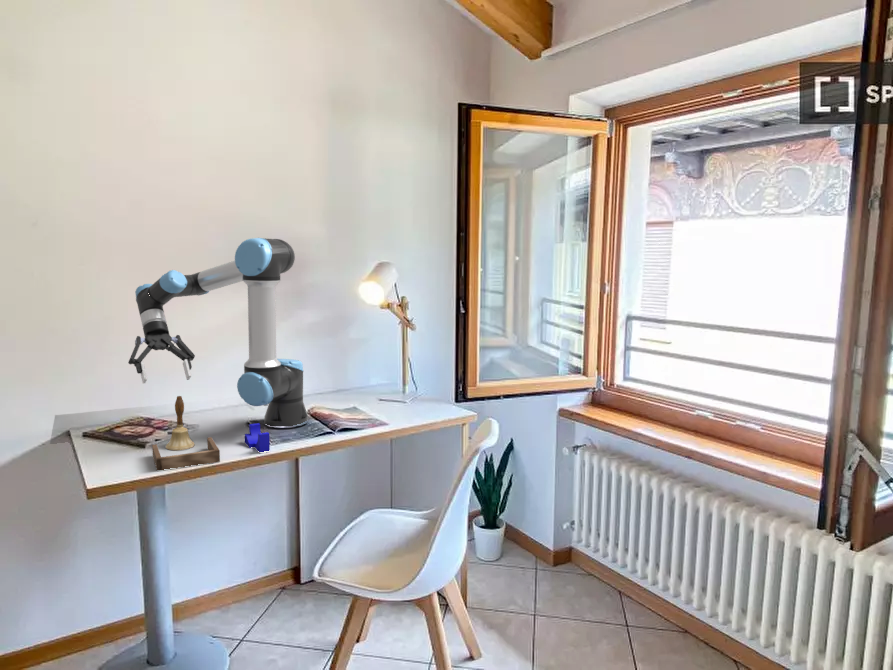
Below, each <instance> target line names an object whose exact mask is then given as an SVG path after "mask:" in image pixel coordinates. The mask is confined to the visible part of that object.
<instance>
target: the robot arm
mask: <svg viewBox="0 0 893 670" xmlns="http://www.w3.org/2000/svg"><path fill="white" fill-rule="evenodd" d="M295 254H296V253H295V251H294V249H293V247H292V246H291V244H289V243H288V242H287V241H285V240H283V239H281V238H265V237H263V238H262V237H254V238H253V237H252V238H248V239H246V240H244V241H242V242H241V243H240V244H239V245H238V246H237V248H236V250H235V254H234V260H233V261H229V262H226V263H224V264H220V265H218V266H217V265H216V266H214V267H210V268H208V269H205V270H202V271H199V272H195V273H193V274H185V275H184V274H183V273H182V272H181V271H177V270H175V269H172V270H169V271H167V272H165V273H164V274H162V275H161V276H160V277H159V278H158V279H157V280H156V281H155V282H154V283H144V284H142V285H139V286H138V287H136V289H135V301H136V304H137V309H138V312H139V316H140V317H139V318H140V321H141V326H142V330H143V335H144V337H141V336H140V335H137V336H136V338H135V340H134V348H133V349H132V353H131V355H130V357H129V360H128V364H129V365H133V366H134V367H135V368H136V369H135V370H136V373H137V374H139V375H140V377H141V382H142V384H146V383H147V380H148V377H147V376H148V375H147V373H146V372H147V371H146V368H145V363H144V361H143V360H145V358H146V357H147V355H148V354H149V353H150V352H151V351H152V350H154V351H159V350H160V351H165V350H166V351H168V352H170V353H172V354H173V355H175V356H176V357H177V358H178V359H180V360H181V361H183V362H182V367H183V370H184V374H185V378H186V380H187V381H188V380H190V379H191V377H192V373H191V370H192V366H193V365H192V361H193V360H194V359H195V357H196V354H195V353H194V352H192V350H191V349H190V348H189V347H188V345H186V343H185V342H184V341H183V340H182V337H181V336H180V335H179V334H176V336H171V335H170V331H169V326H168V324H167V319H166V315H165V310H164V305H166V304H167V303H169V302H171V300H172V299H174V298H180V297H191V296H202V295H206V294H209V292H211V291H214V290H217V289H221V288H224V287H227V286H231V285H233V284H237V283H240V282H243V283H245V284H246V285H247V309H248V310H247V313H248V314H247V315H248V316H247V319H248V320H247V321H248V324H247V325H248V359H247V360H246V362H244V364H243V372H244V373H242V374H241V375H240V377H239V378H238V380H237V385H236V388H237V393H238V395H239V397H240V398H241V399H242V400H243V401H244V403H246V404H247V405H249V406H252V407H261V406H264V405H267V409H266V411H265V414H264V418H263V420H264V422H263V424H264V423H265V424H267V425H270V426H293V425H297V424H301V423H303V422H305V421H307V420H308V421H309V414H308V412H307V408H306V406H305V403H304V364H303V362H302V361H301V360H298V359H291V358H277V310H276V309H277V301H276V299H277V298H276V297H277V296H276V295H277V294H276V293H277V291H276V287H277V285H278V284H279V283H280V282H281V274H285V273H287V272H288V271H290V270H291V268H292V267H293V265H294V264H295V261H296V256H295ZM148 293H149V294H148ZM149 295H150V296H149ZM143 343H145V345H147V346H146V348H145V349H144V350H143V351H142V352H141V354H140V355H139V356H138V357H137V358H136V355H137V354H138V351H139V348H140V346H141V345H143Z"/></svg>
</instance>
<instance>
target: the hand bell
mask: <svg viewBox="0 0 893 670" xmlns="http://www.w3.org/2000/svg"><path fill="white" fill-rule="evenodd" d="M184 410H185V402H184V400H183V397H182V395H177V397H176V400H175V403H174V411H175V415H176V427H175V428H172V430H171V435H170V436H171V437H170V440H169V441H168V443H166V444H165V449H166V450H169V451H184V450H189V449H192V448H194V447H195V442H194V441H192V440H191V438H190V435H189V429H188V428H187V427H185V426H184V425H183V424H184V422H183V415H184V412H185V411H184Z"/></svg>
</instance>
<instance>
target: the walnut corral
mask: <svg viewBox="0 0 893 670" xmlns="http://www.w3.org/2000/svg"><path fill="white" fill-rule="evenodd" d="M206 444H207V450H202V451H196V452H187V453H180V454H174V455H166V456H161V452H160V450H159V447H158V444H151V447H152V448H151V449H152V452H151V453H152V459H153V461H154V465H156V466H155V468H157V469H156V471H157V470H163V471H165V470H164V469H170V468H176V469H179V468H178V467H183V468H186V467H185V466H189V467H192V466H191V465H196V466H199V465H198V464H203V465H207V463H209V464H214V463H220V462H221V457H220V455H221V454H220V449H219V447H218V446H217V443H216V442H215V441H214V439H213V437H212V436H209V437H207V443H206ZM170 470H171V469H170Z"/></svg>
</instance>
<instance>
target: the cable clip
mask: <svg viewBox="0 0 893 670" xmlns="http://www.w3.org/2000/svg"><path fill="white" fill-rule="evenodd" d="M248 427H249V428H248V431H249V433H244V444H245V443H246V444H247V445H248V446H249V447H248V446H247V445H246V444H245V445H246V446H247V447H248V448H249V449H252V448H251V447H255V448H256V449H257V450H258V451H259V452H264V451H269V450H270V447H271V446H270V444H271V443H270V433H269V431H267V432H261V424H260V422H258V423H251V424H250V423H249V424H248ZM255 448H254V449H255ZM256 449H255V450H256ZM257 450H256V451H257ZM258 451H257V452H258ZM259 452H258V453H259Z"/></svg>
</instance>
